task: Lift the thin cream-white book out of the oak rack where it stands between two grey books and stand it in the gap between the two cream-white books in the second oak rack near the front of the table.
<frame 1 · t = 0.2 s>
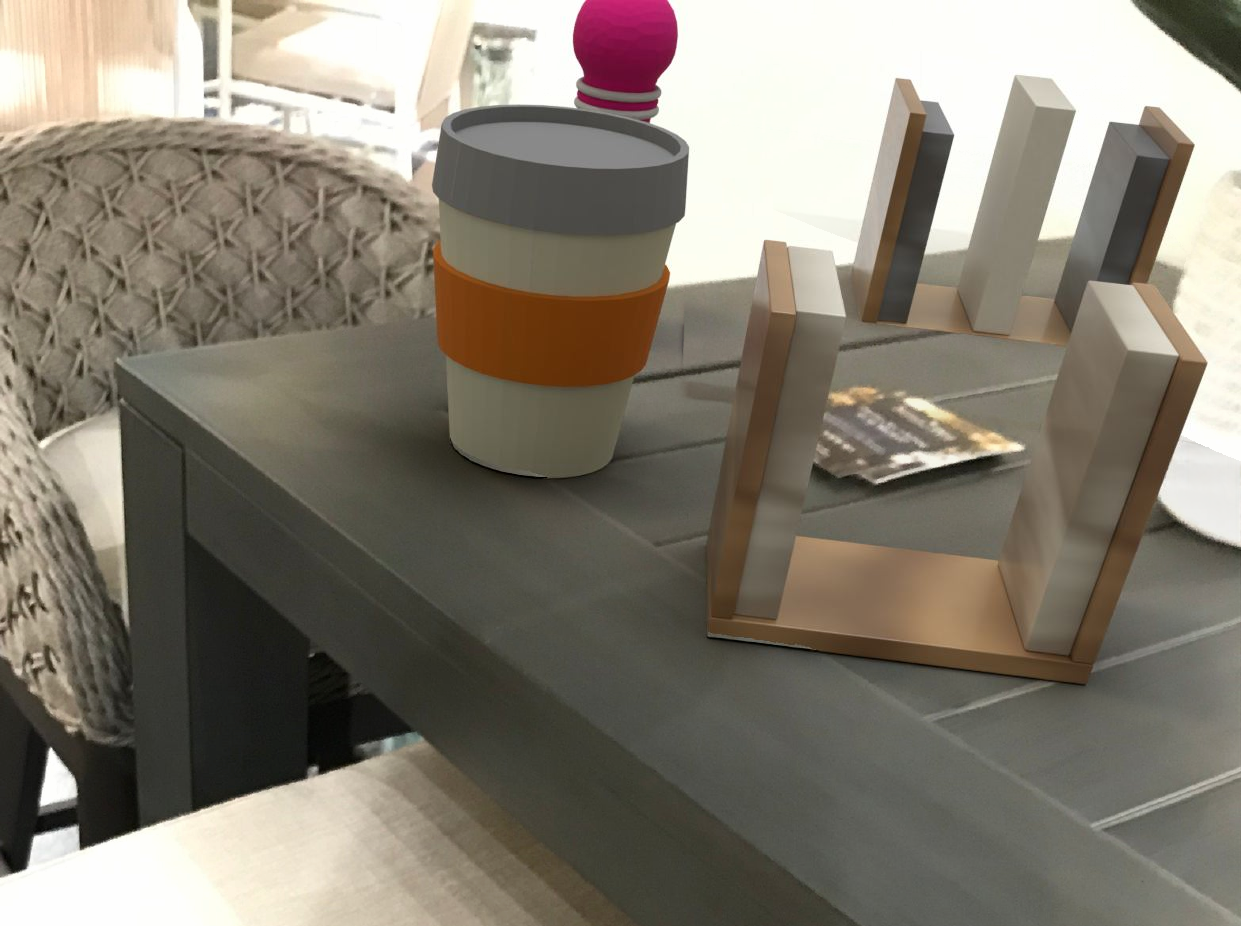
pepper mill: (588, 328, 104), on the table
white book: (982, 312, 108), point 1 cm above the table, touching grey rack
grey rack: (978, 327, 109), on the table
reusable coffee cup: (531, 448, 88), on the table
white rack: (886, 610, 76), on the table
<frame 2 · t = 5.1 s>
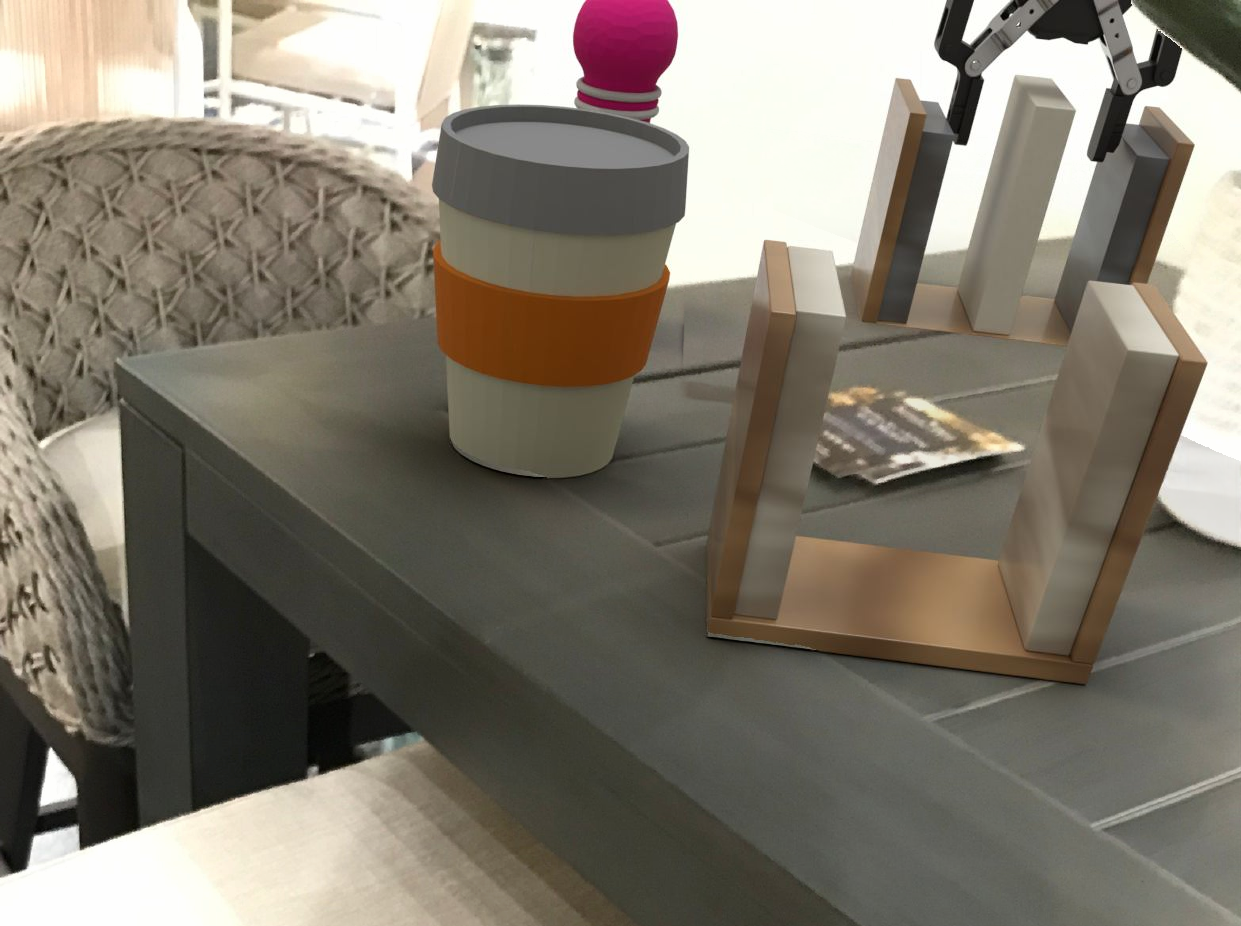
hand: (1027, 151, 102), 11 cm above the table, tool pointing down, fingers open, 8 cm apart
nothing on the table moved.
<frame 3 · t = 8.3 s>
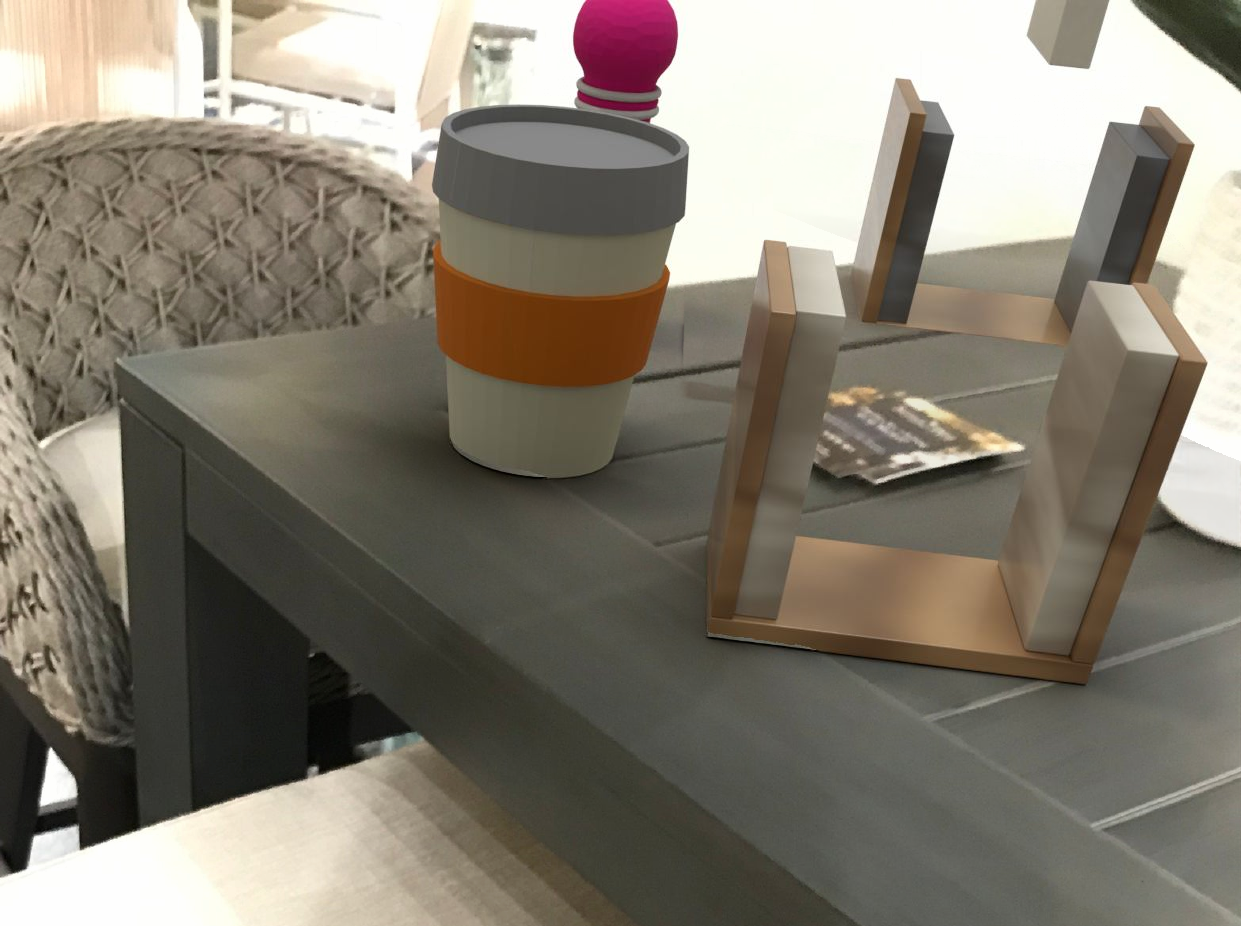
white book: (1056, 52, 98), point 16 cm above the table, touching gripper
everything else where it was.
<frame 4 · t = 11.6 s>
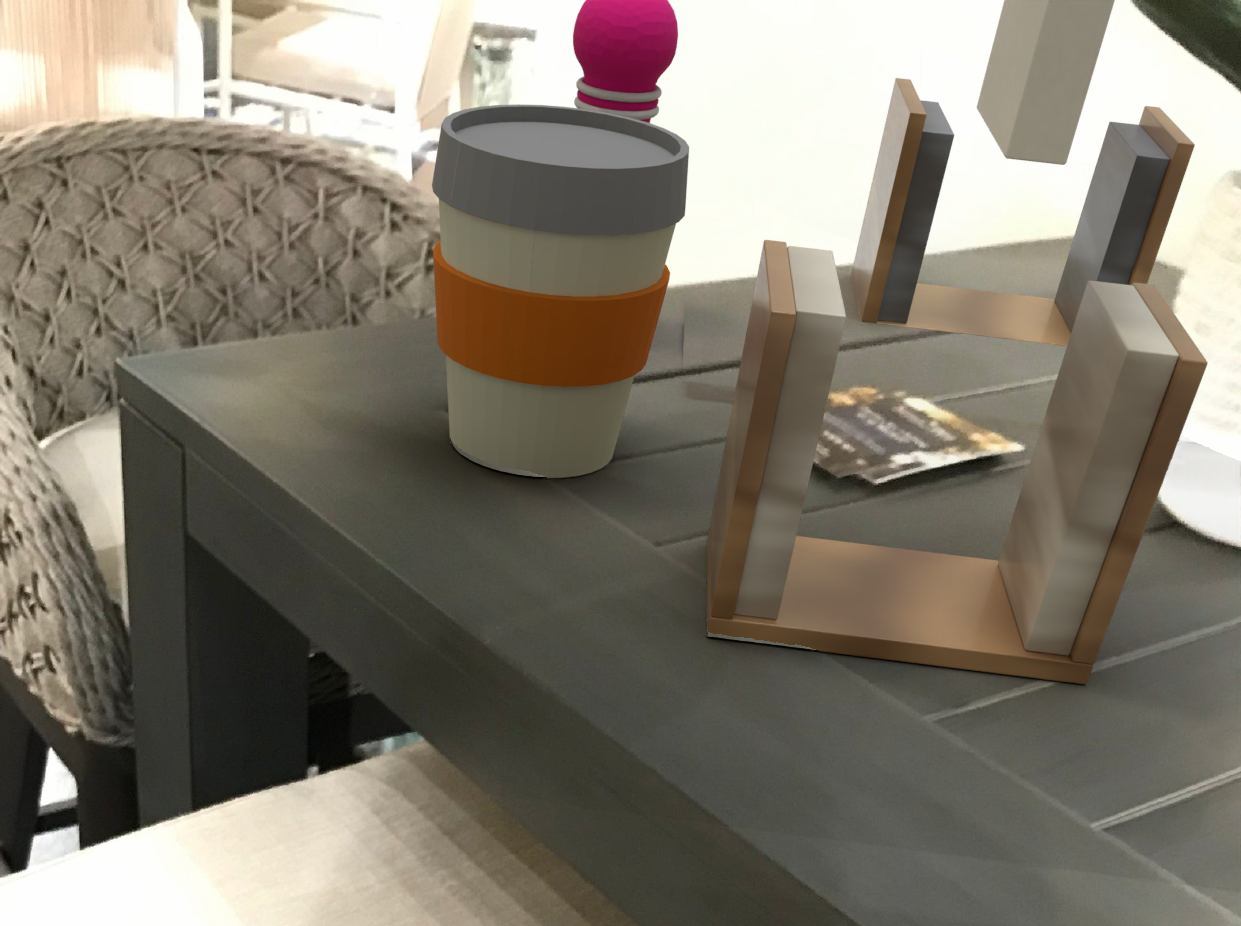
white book: (1018, 135, 67), point 19 cm above the table, touching gripper
everything else where it was.
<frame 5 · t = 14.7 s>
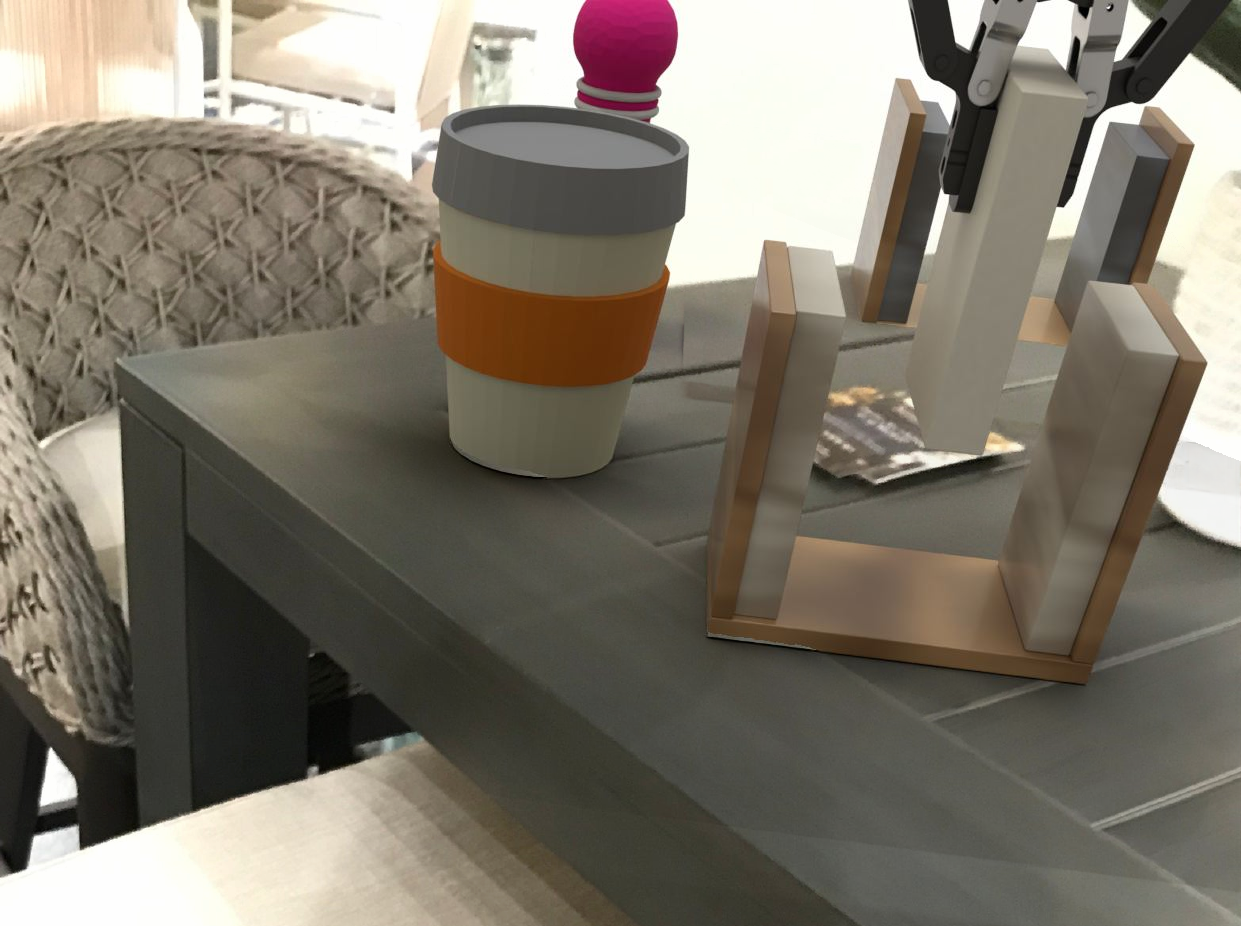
hand: (998, 210, 65), 17 cm above the table, tool pointing down, fingers closed on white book, 2 cm apart
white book: (941, 413, 70), point 9 cm above the table, touching gripper
everything else where it was.
when the fingers open (9 cm above the table, at t = 17.2 s): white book stays where it is, resting on white rack.
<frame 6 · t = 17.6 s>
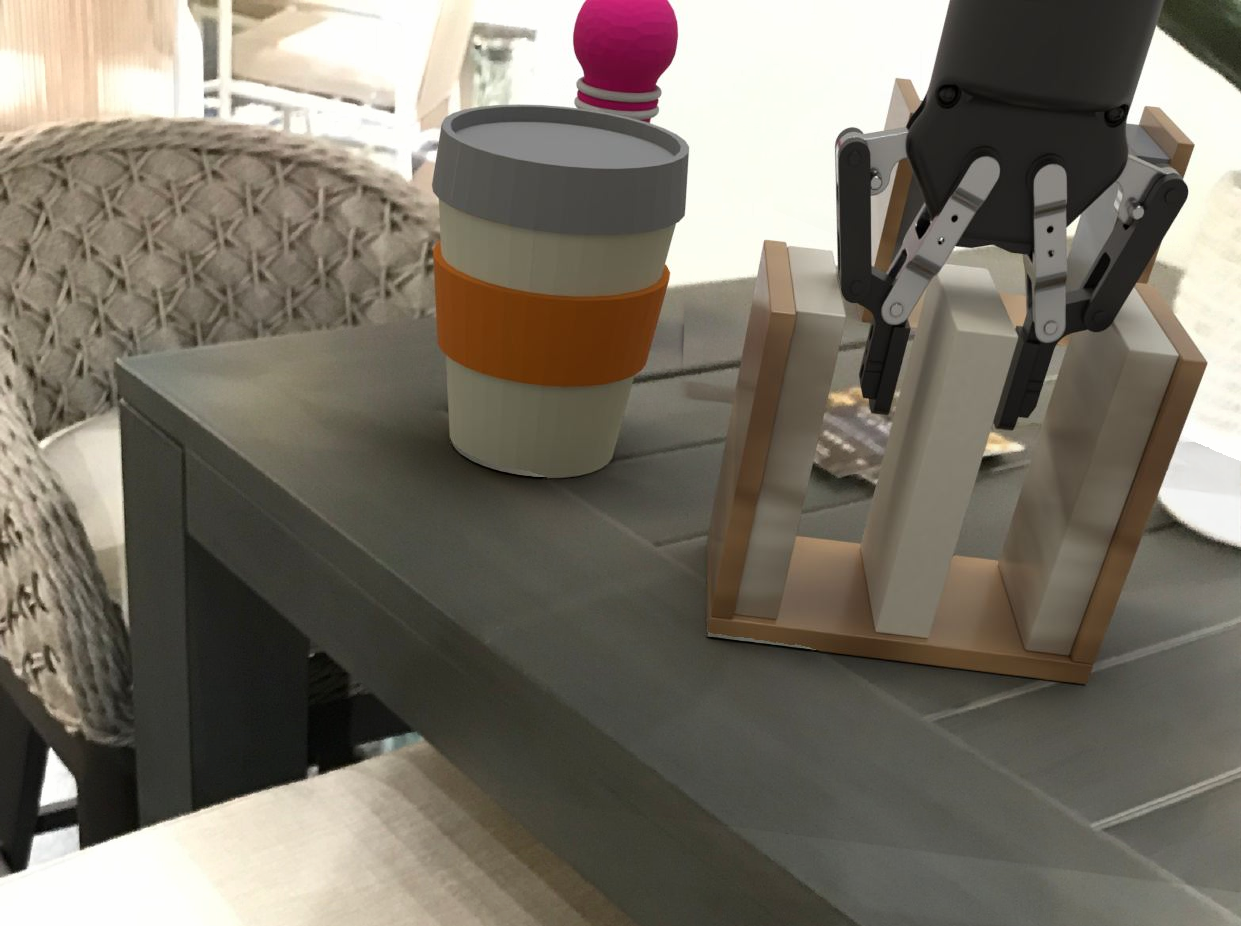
hand: (940, 414, 70), 9 cm above the table, tool pointing down, fingers open, 4 cm apart
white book: (892, 591, 75), point 1 cm above the table, touching white rack
everything else where it was.
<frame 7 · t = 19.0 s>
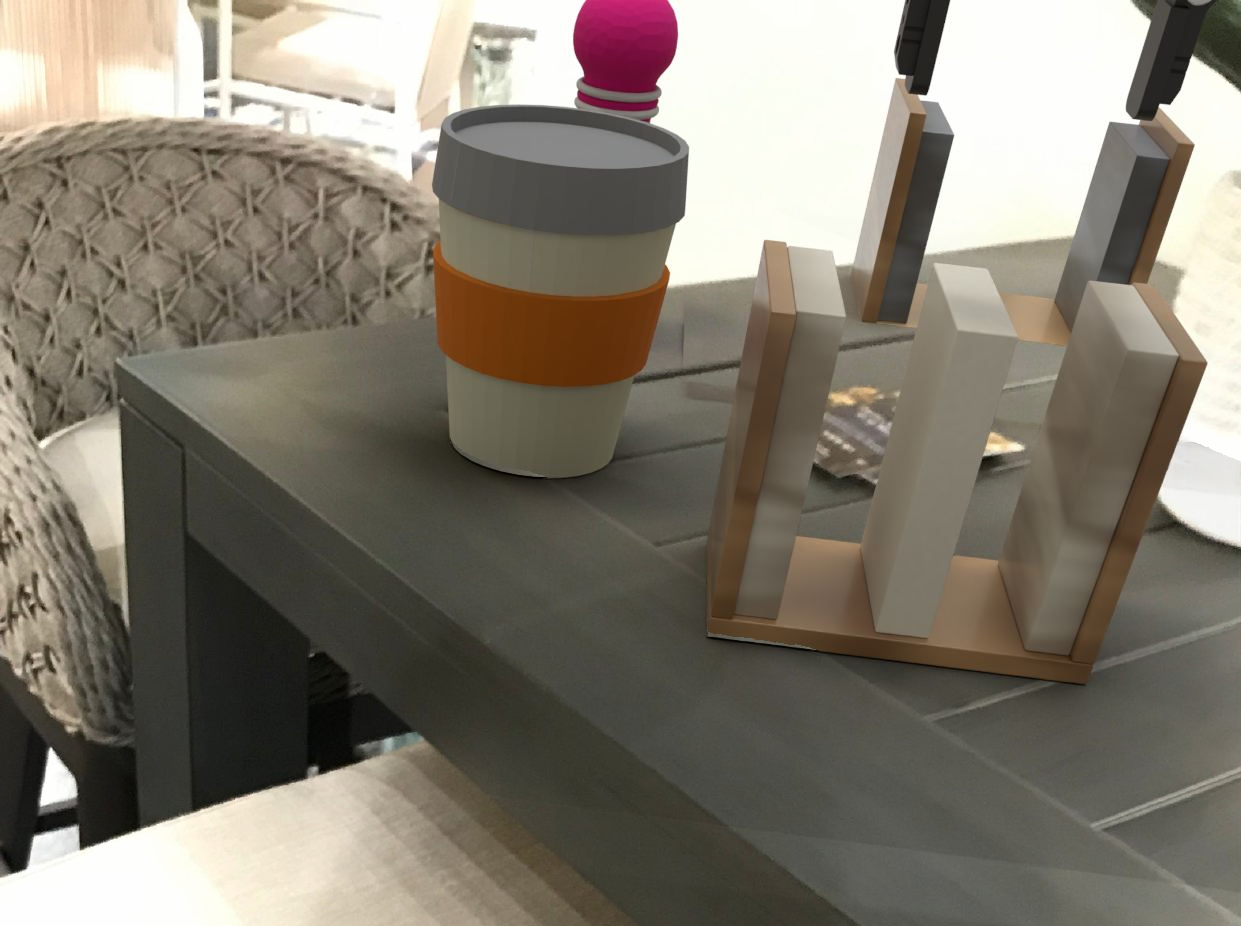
hand: (1027, 103, 62), 21 cm above the table, tool pointing down, fingers open, 8 cm apart
nothing on the table moved.
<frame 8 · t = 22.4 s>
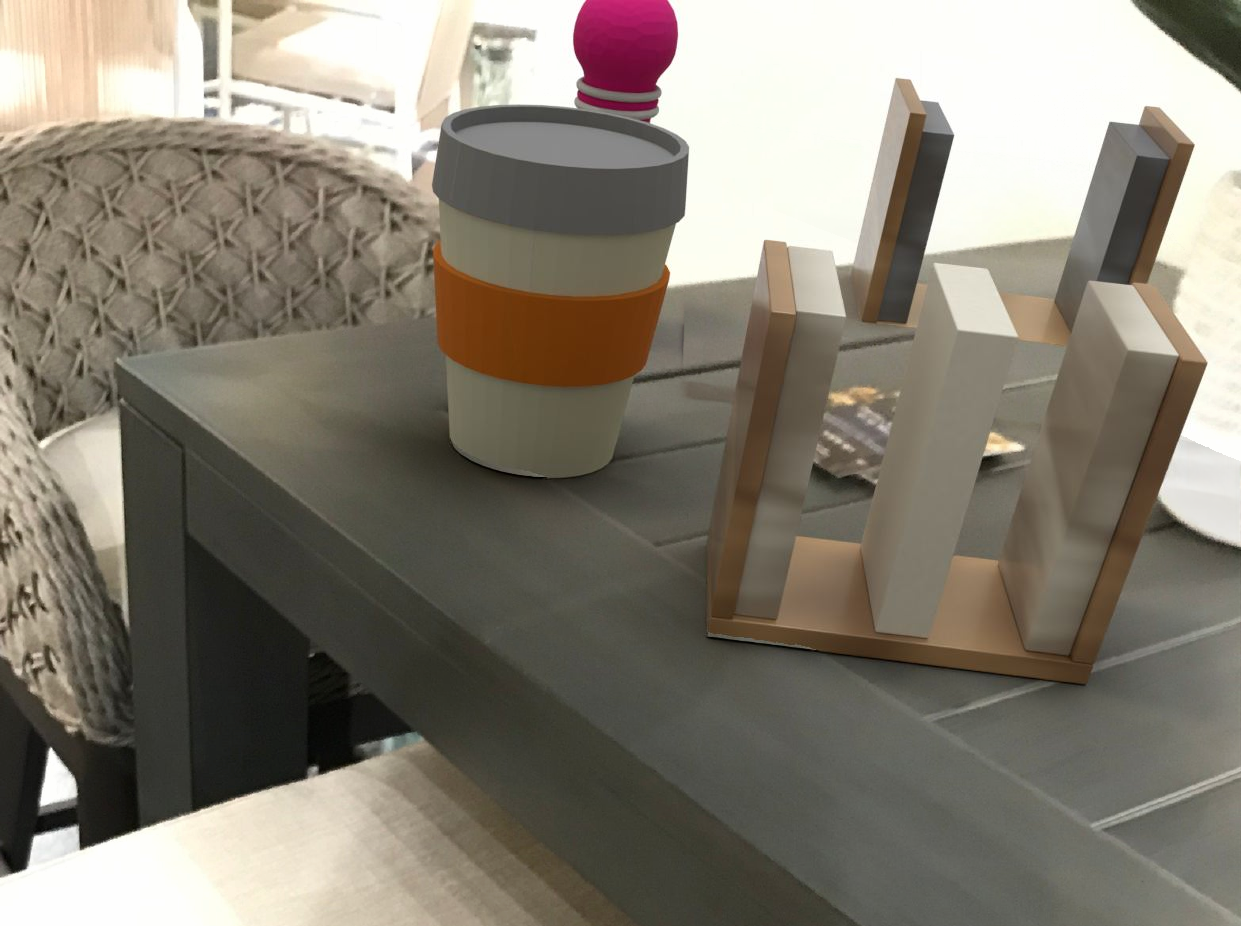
nothing on the table moved.
at the end: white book 0.0 cm off-centre on the white rack, point 1.0 cm above the white rack's base; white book tilted 0°; the gripper is holding nothing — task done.
